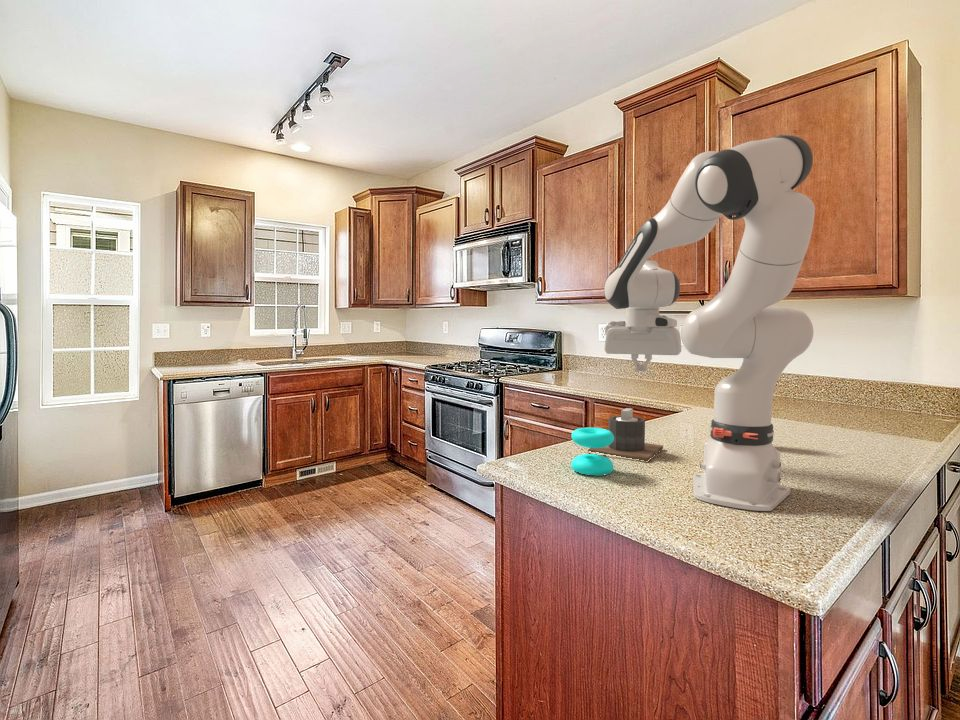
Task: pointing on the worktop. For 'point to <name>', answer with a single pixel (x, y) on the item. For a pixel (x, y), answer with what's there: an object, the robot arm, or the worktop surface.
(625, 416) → the block on round base
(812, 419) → the worktop surface
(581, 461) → the donuts
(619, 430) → the cylinder on base plate
